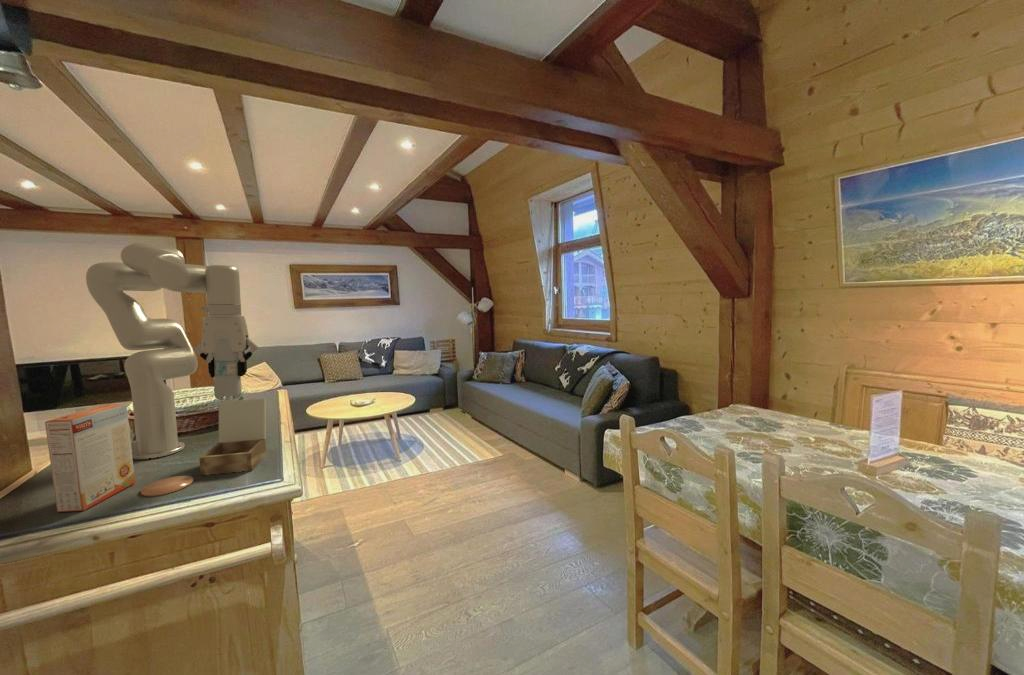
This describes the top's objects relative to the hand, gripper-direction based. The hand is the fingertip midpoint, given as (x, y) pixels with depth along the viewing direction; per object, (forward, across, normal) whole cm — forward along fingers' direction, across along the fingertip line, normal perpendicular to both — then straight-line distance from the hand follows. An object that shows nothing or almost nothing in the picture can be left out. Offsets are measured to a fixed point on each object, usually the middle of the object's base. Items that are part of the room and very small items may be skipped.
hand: (228, 375), depth 112 cm
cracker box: (+26, -23, -13) cm, 37 cm away
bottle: (+7, 0, 0) cm, 7 cm away
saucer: (+26, -10, -11) cm, 30 cm away
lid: (+26, +1, +7) cm, 27 cm away
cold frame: (+26, +1, 0) cm, 26 cm away
